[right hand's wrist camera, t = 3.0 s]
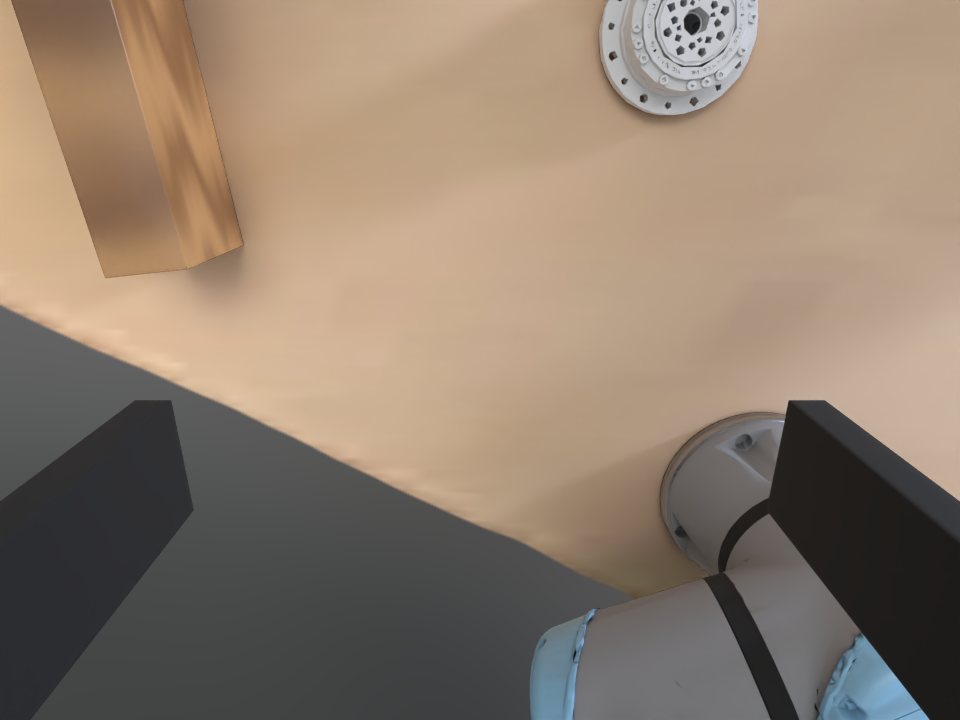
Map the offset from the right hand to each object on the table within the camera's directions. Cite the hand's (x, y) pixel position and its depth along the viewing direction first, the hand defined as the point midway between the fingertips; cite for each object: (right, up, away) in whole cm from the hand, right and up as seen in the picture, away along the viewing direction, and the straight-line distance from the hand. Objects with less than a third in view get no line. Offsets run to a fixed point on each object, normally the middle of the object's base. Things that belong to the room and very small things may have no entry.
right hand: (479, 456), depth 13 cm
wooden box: (-22, +24, +26) cm, 42 cm away
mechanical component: (+13, +24, +26) cm, 38 cm away
